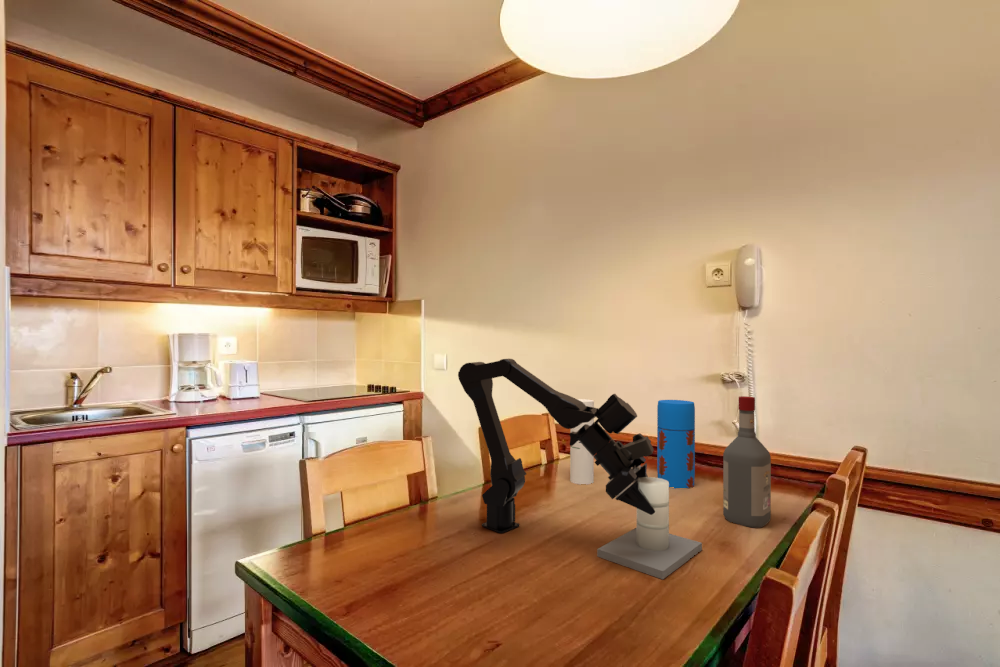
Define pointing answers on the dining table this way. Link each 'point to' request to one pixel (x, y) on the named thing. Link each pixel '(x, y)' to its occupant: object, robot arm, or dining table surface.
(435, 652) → the dining table surface
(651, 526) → the tumbler stack
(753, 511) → the liquor
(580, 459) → the cylindrical container
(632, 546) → the shelf board
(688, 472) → the thermos
